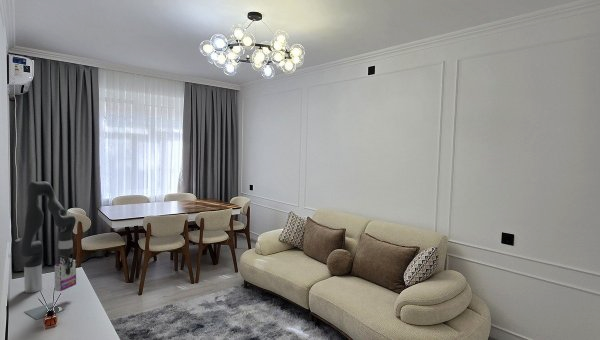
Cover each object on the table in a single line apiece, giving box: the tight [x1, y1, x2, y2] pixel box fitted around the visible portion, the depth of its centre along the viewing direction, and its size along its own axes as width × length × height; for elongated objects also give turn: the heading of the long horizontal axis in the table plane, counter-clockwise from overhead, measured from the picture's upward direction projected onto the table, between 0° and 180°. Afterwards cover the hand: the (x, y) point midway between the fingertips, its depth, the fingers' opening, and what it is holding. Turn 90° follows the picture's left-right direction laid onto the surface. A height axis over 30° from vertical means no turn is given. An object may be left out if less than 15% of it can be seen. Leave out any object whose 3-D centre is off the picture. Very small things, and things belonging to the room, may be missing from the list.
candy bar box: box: [54, 259, 77, 292], centre depth 208 cm, size 11×5×16 cm, turn 168°
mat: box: [24, 302, 65, 321], centre depth 194 cm, size 16×14×1 cm
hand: (65, 272), depth 208 cm, fingers closed on candy bar box, 6 cm apart
